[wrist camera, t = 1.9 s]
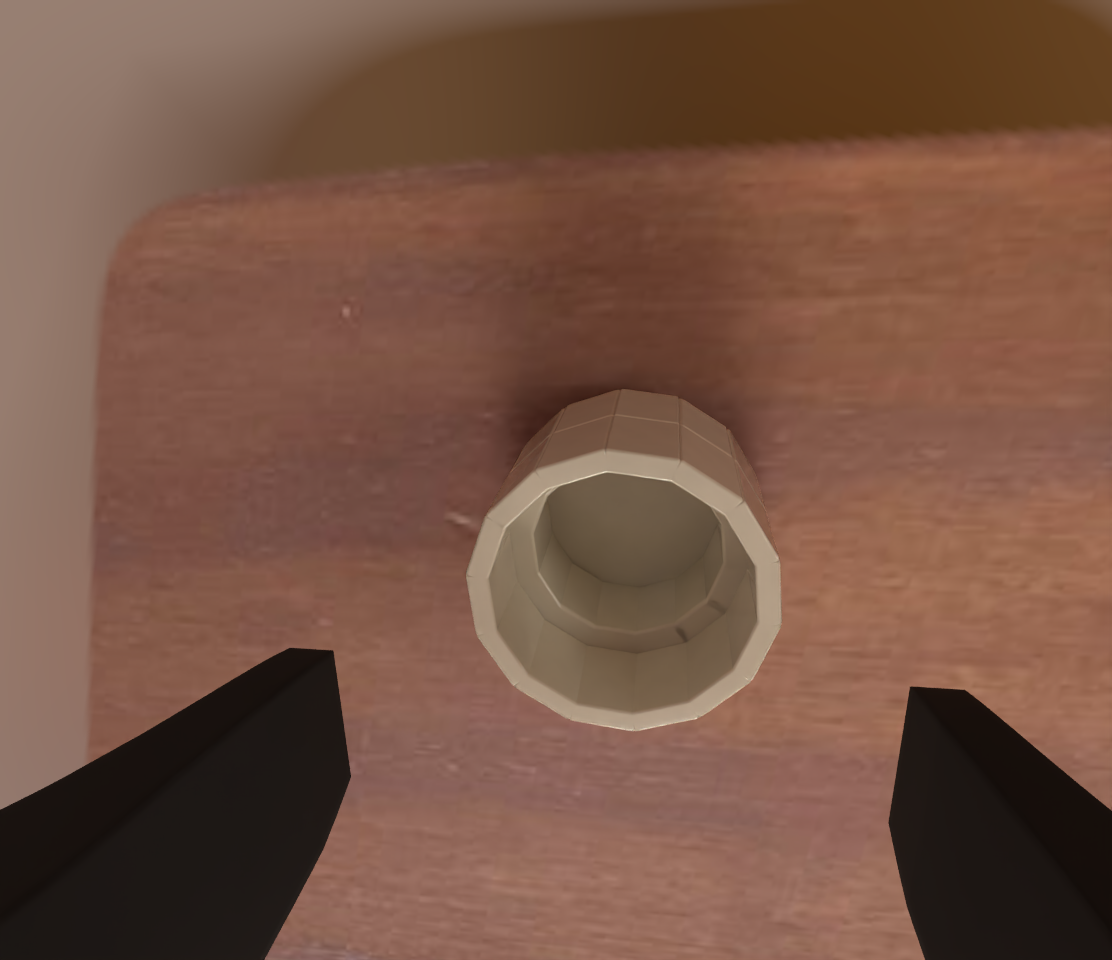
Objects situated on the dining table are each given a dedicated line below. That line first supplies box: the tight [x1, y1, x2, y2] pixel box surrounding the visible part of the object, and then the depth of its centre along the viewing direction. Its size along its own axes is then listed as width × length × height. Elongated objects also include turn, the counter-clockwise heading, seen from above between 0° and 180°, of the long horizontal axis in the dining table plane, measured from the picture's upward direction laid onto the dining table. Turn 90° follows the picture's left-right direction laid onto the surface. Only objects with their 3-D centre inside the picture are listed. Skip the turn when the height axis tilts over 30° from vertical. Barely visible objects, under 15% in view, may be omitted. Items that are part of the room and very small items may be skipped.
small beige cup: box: [466, 389, 782, 731], centre depth 15 cm, size 5×5×4 cm
